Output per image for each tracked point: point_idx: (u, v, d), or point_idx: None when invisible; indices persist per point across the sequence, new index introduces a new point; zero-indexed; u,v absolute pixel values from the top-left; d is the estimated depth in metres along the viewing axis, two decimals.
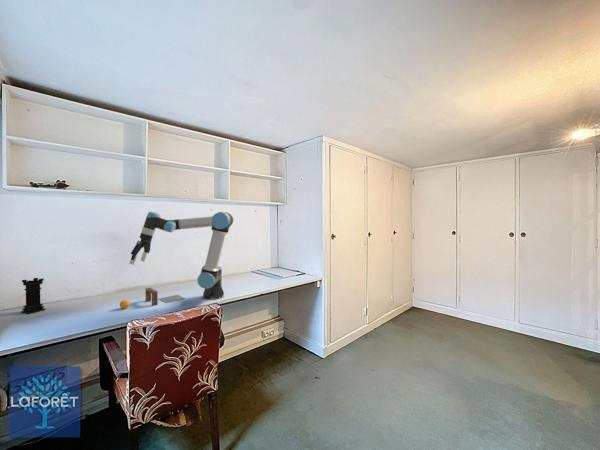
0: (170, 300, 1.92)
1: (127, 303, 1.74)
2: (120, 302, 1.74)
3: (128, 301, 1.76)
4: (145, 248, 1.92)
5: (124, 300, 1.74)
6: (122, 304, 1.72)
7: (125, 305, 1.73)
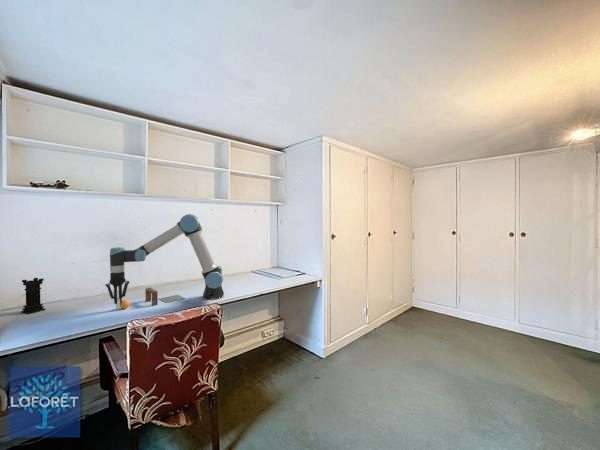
0: (170, 300, 1.92)
1: (127, 303, 1.74)
2: None
3: (128, 301, 1.76)
4: (119, 290, 1.72)
5: (124, 300, 1.74)
6: (122, 304, 1.73)
7: (125, 305, 1.73)
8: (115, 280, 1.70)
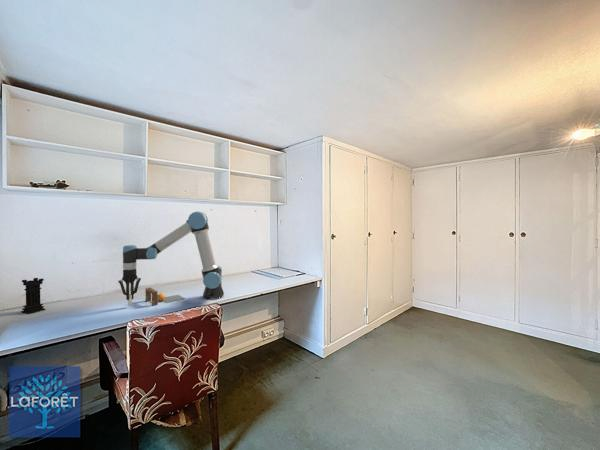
0: (170, 300, 1.92)
1: (164, 298, 1.91)
2: (161, 293, 1.92)
3: None
4: (131, 287, 1.77)
5: (164, 294, 1.93)
6: (161, 295, 1.90)
7: (162, 297, 1.90)
8: (127, 277, 1.75)
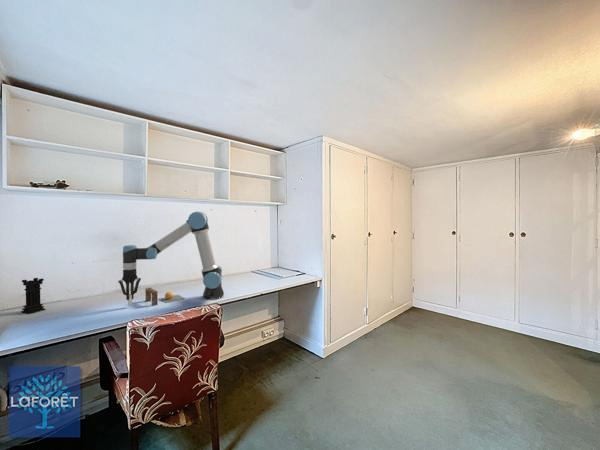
0: (170, 300, 1.92)
1: (169, 297, 1.93)
2: None
3: (167, 298, 1.94)
4: (131, 287, 1.77)
5: None
6: (172, 296, 1.96)
7: (171, 295, 1.94)
8: (127, 277, 1.75)
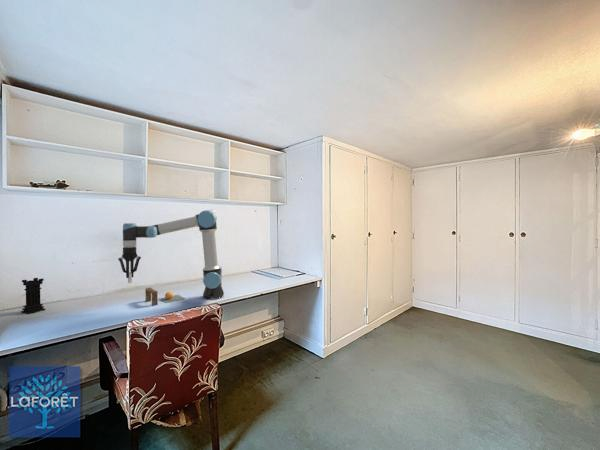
0: (170, 300, 1.92)
1: (169, 297, 1.93)
2: None
3: (167, 298, 1.94)
4: (131, 265, 1.77)
5: None
6: (172, 296, 1.96)
7: (171, 295, 1.94)
8: (127, 255, 1.75)
